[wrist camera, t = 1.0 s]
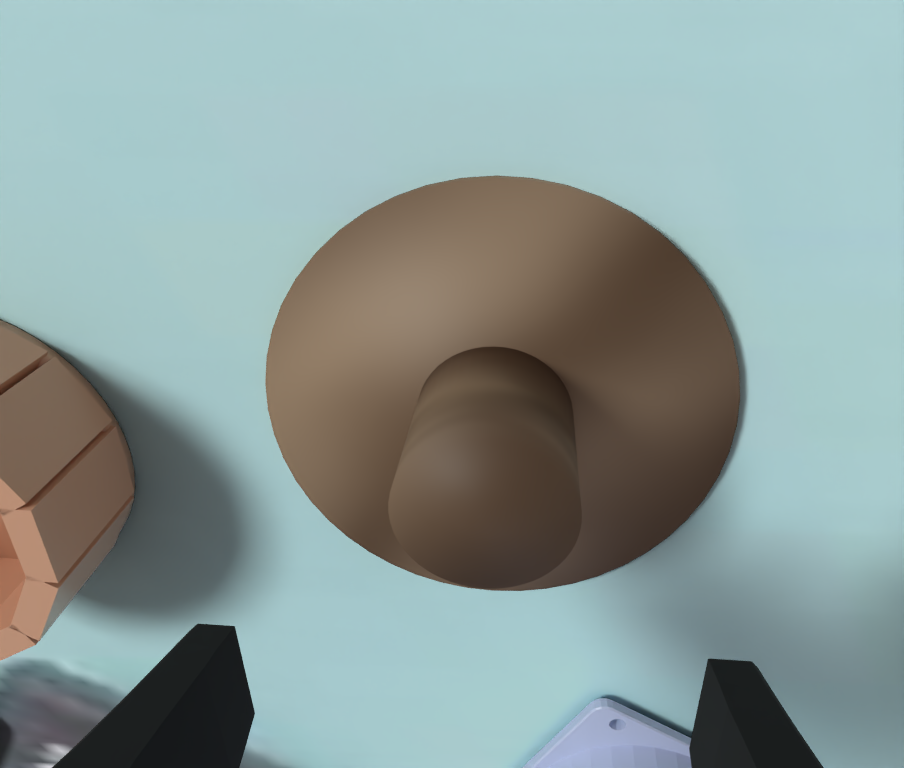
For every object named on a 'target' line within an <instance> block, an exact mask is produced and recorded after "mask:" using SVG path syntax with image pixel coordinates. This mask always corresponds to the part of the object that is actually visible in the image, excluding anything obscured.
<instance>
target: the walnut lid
mask: <svg viewBox="0 0 904 768" xmlns="http://www.w3.org/2000/svg"><path fill="white" fill-rule="evenodd" d="M266 393H267V403H268V411H269V415H270V419H271V423H272V427H273V431H274V435H275V438H276V440H277V443H278V445H279V448H280V450H281V453H282V455H283V458H284V460H285V462H286V463H287V465H288V467H289V469H290V471H291V472H292V474H293V476H294V478H295V480H296V481H297V483H298V484H299V485H300V487H301V488H302V489H303V491H304V492H305V494H306V495H307V496H308V498H309V499H310V500H311V502H312V503H313V504H314V505H315V506H316V507H317V508H318V509H319V510H320V511H321V513H322V514H323V515H324V516H325V517H326V518H327V519H328V520H329V521H330V522H331V523H332V524H334V525H335V526H336V527H337V528H338V529H339V530H341V531H342V532H343V533H344V534H345V535H346V536H347V537H349V538H350V539H352V540H353V541H355V542H356V543H357V544H359V545H360V546H362V547H363V548H365V549H366V550H368V551H369V552H371V553H373V554H374V555H376V556H378V557H380V558H382V559H384V560H385V561H387V562H389V563H391V564H393V565H395V566H398V567H400V568H402V569H405V570H407V571H409V572H412V573H414V574H417V575H420V576H423V577H426V578H429V579H433V580H436V581H439V582H443V583H448V584H452V585H457V586H462V587H467V588H476V589H485V590H501V591H523V590H534V589H546V588H551V587H557V586H562V585H567V584H573V583H576V582H579V581H583V580H586V579H590V578H593V577H596V576H599V575H602V574H604V573H606V572H609V571H611V570H614V569H616V568H618V567H621V566H623V565H625V564H627V563H628V562H630V561H632V560H634V559H636V558H638V557H639V556H641V555H643V554H645V553H646V552H648V551H649V550H651V549H652V548H653V547H655V546H656V545H658V544H659V543H660V542H662V541H663V540H665V539H666V538H667V537H668V536H670V535H671V534H672V533H673V532H674V531H675V530H676V529H677V528H678V527H679V526H680V525H682V524H683V523H684V522H685V521H686V520H687V519H688V518H689V517H690V515H691V514H692V513H693V512H694V511H695V509H696V508H697V507H698V506H699V505H700V503H701V502H702V501H703V500H704V499H705V497H706V495H707V494H708V492H709V491H710V489H711V487H712V486H713V484H714V483H715V481H716V480H717V478H718V476H719V474H720V472H721V470H722V467H723V465H724V463H725V461H726V458H727V456H728V454H729V452H730V448H731V445H732V441H733V437H734V434H735V430H736V427H737V420H738V411H739V402H740V385H739V368H738V363H737V358H736V353H735V348H734V343H733V339H732V337H731V334H730V331H729V329H728V326H727V323H726V321H725V318H724V315H723V313H722V311H721V309H720V307H719V305H718V304H717V302H716V300H715V298H714V297H713V295H712V293H711V291H710V289H709V288H708V286H707V284H706V283H705V281H704V279H703V278H702V277H701V276H700V274H699V273H698V272H697V271H696V269H695V268H694V267H693V266H692V264H691V263H690V262H689V260H688V259H687V258H686V257H685V255H684V254H683V253H682V252H680V251H679V250H678V249H677V248H676V247H675V246H674V245H673V244H672V243H671V242H670V241H669V240H668V239H667V238H666V237H665V236H663V235H662V234H661V233H660V232H659V231H658V230H656V229H655V228H653V227H652V226H650V225H649V224H648V223H646V222H645V221H643V220H642V219H640V218H639V217H638V216H636V215H635V214H633V213H632V212H630V211H628V210H626V209H624V208H622V207H620V206H618V205H616V204H614V203H612V202H610V201H608V200H606V199H604V198H602V197H600V196H597V195H594V194H591V193H589V192H586V191H583V190H580V189H577V188H574V187H571V186H568V185H564V184H559V183H554V182H549V181H544V180H539V179H534V178H524V177H509V176H484V177H470V178H459V179H454V180H449V181H444V182H439V183H435V184H430V185H426V186H423V187H420V188H417V189H414V190H411V191H409V192H406V193H403V194H400V195H397V196H395V197H393V198H391V199H389V200H387V201H385V202H383V203H381V204H379V205H377V206H375V207H373V208H371V209H369V210H368V211H366V212H364V213H363V214H361V215H360V216H359V217H357V218H356V219H354V220H353V221H352V222H350V223H349V224H347V225H346V226H345V227H343V228H342V229H340V230H339V231H338V232H337V233H336V234H335V235H334V236H333V237H332V238H331V239H330V240H329V241H328V242H327V243H326V244H324V245H323V246H322V247H321V248H320V249H319V250H318V251H317V252H316V253H315V255H314V256H313V257H312V258H311V260H310V261H309V262H308V264H307V265H306V266H305V267H304V269H303V270H302V271H301V273H300V274H299V275H298V277H297V278H296V279H295V281H294V283H293V285H292V286H291V288H290V290H289V292H288V294H287V296H286V297H285V299H284V301H283V303H282V305H281V308H280V310H279V313H278V316H277V318H276V321H275V324H274V327H273V329H272V334H271V339H270V344H269V348H268V353H267V363H266Z"/></svg>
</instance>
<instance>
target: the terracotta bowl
mask: <svg viewBox="0 0 904 768" xmlns="http://www.w3.org/2000/svg"><path fill="white" fill-rule="evenodd" d="M134 492H135V475H134V467H133V462H132V457H131V453H130V450H129V447H128V445H127V442H126V439H125V436H124V434H123V432H122V430H121V428H120V426H119V424H118V422H117V420H116V418H115V417H114V415H113V414H112V412H111V411H110V409H109V407H108V406H107V404H106V403H105V401H104V400H103V399H102V397H101V396H100V395H99V394H98V393H97V391H96V390H95V389H94V388H93V386H92V385H91V384H90V383H89V382H88V381H87V380H86V379H85V378H84V377H83V376H82V375H81V374H80V373H79V372H78V371H77V370H76V369H75V368H74V367H73V366H72V365H71V364H70V363H69V362H67V361H66V360H65V359H64V358H63V357H61V356H60V355H59V354H58V353H57V352H55V351H54V350H52V349H51V348H49V347H48V346H47V345H45V344H44V343H42V342H41V341H39V340H38V339H36V338H35V337H33V336H31V335H29V334H28V333H26V332H24V331H22V330H21V329H19V328H17V327H15V326H13V325H11V324H8V323H6V322H4V321H2V320H0V660H3V659H5V658H7V657H9V656H12V655H14V654H16V653H18V652H20V651H23V650H25V649H27V648H29V647H32V646H34V645H36V644H37V643H38V641H40V640H41V638H42V637H43V636H44V635H45V633H46V632H47V631H48V629H49V628H50V627H51V626H52V624H53V623H54V622H55V621H56V619H57V618H58V617H59V616H60V614H61V613H62V612H63V610H64V609H65V608H66V607H67V605H68V604H69V603H70V602H71V600H72V599H73V598H74V596H75V595H76V594H77V593H78V591H79V590H80V589H81V588H82V586H83V585H84V584H85V582H86V581H87V580H88V579H89V577H90V576H91V575H92V574H93V572H94V571H95V570H96V569H97V567H98V566H99V565H100V563H101V562H102V561H103V560H104V558H105V557H106V556H107V555H108V553H109V552H110V551H111V549H112V548H113V547H114V546H115V543H116V541H117V538H118V536H119V533H120V531H121V529H122V528H123V527H124V525H125V523H126V521H127V519H128V517H129V515H130V511H131V508H132V505H133V501H134Z"/></svg>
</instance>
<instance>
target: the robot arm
mask: <svg viewBox="0 0 904 768" xmlns="http://www.w3.org/2000/svg"><path fill="white" fill-rule="evenodd" d="M254 714H255V712H254V708H253V704H252V699H251V695H250V691H249V686H248V682H247V678H246V673H245V669H244V665H243V660H242V656H241V652H240V647H239V643H238V639H237V634H236V630H235V626H223V625H209V624H197V625H196V626H195V627H193V628H192V629H191V630H190V631H189V632H188V633H187V634H186V635H185V636H184V637H183V638H182V639H181V640H180V641H179V642H178V643H177V644H176V645H175V647H174V648H173V649H172V650H171V651H170V652H169V653H168V654H167V655H166V656H165V657H164V658H163V659H162V660H161V661H160V662H159V663H158V664H157V665H156V666H155V667H154V668H153V669H152V670H151V671H150V672H149V673H148V674H147V675H146V676H145V677H144V678H143V679H142V680H141V681H140V682H139V683H138V685H137V686H136V687H135V688H134V689H133V690H132V691H131V692H130V693H129V694H128V695H127V696H126V697H125V698H124V699H123V700H122V701H121V702H120V703H119V704H118V705H117V706H116V707H115V708H114V709H113V710H112V711H111V712H110V713H109V714H108V715H107V716H105V717H104V718H103V719H102V720H101V721H100V722H99V723H98V724H97V725H96V726H95V727H94V728H93V729H92V730H91V731H90V732H89V733H88V734H87V735H86V736H85V737H84V738H83V739H82V740H81V741H80V742H79V743H78V744H77V745H76V746H75V747H74V748H73V749H72V750H71V751H70V752H69V753H67V754H66V755H65V756H64V757H63V758H62V759H61V760H60V761H59V762H58V763H57V764H55V765H54V766H53V767H52V768H239V766H240V763H241V760H242V756H243V753H244V750H245V746H246V743H247V739H248V736H249V732H250V728H251V725H252V721H253V718H254ZM522 768H823V766H822V765H821V763H820V762H819V760H818V759H817V758H816V756H815V755H814V753H813V752H812V750H811V749H810V747H809V746H808V744H807V743H806V741H805V740H804V738H803V737H802V735H801V734H800V732H799V731H798V730H797V728H796V727H795V725H794V724H793V722H792V720H791V719H790V717H789V716H788V714H787V713H786V711H785V710H784V708H783V707H782V705H781V704H780V702H779V701H778V699H777V697H776V696H775V694H774V693H773V691H772V690H771V688H770V686H769V685H768V683H767V682H766V680H765V679H764V677H763V675H762V674H761V672H760V671H759V669H758V668H757V666H756V665H755V664H754V663H753V662H751V661H736V660H722V659H708V662H707V667H706V672H705V676H704V681H703V686H702V690H701V695H700V700H699V705H698V709H697V714H696V719H695V723H694V728H693V733H692V737H691V738H690V737H687V736H685V735H683V734H681V733H679V732H677V731H675V730H673V729H671V728H669V727H667V726H665V725H663V724H661V723H658V722H656V721H654V720H652V719H650V718H648V717H646V716H644V715H642V714H640V713H638V712H636V711H634V710H631V709H629V708H627V707H625V706H623V705H621V704H619V703H617V702H615V701H613V700H610V699H607V698H599V699H595V700H594V701H592V702H591V703H589V704H588V705H587V706H586V707H585V708H584V709H583V710H582V711H581V712H580V713H579V714H578V715H577V716H576V717H575V718H574V719H573V720H572V721H571V722H569V723H568V724H567V725H566V726H565V727H564V728H563V729H562V730H561V731H560V732H559V733H558V734H557V735H556V736H555V737H554V738H553V739H552V740H551V741H549V742H548V743H547V744H546V745H545V746H544V747H543V748H542V749H541V750H540V751H539V752H538V753H537V754H536V755H535V756H534V757H533V758H532V759H531V760H529V761H528V762H527V763H526V764H525V765H524V766H523V767H522Z"/></svg>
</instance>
